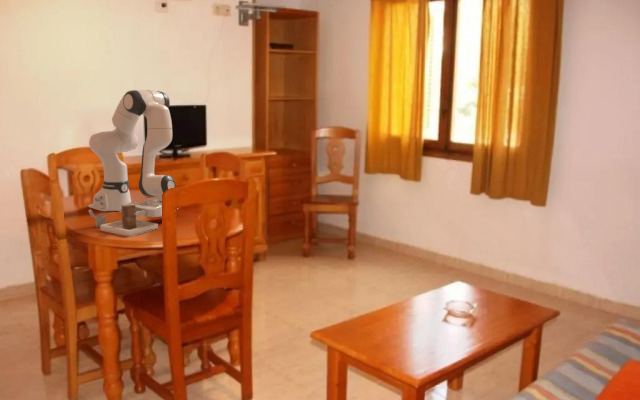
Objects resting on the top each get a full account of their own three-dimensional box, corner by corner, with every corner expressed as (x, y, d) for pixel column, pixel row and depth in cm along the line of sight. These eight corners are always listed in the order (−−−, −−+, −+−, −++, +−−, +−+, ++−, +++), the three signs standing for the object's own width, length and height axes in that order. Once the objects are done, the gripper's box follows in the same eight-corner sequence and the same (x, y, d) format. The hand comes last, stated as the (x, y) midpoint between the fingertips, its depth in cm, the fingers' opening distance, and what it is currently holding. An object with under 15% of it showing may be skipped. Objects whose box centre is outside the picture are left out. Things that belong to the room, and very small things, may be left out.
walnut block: (122, 228, 260) (121, 205, 258) (129, 226, 263) (128, 204, 261) (129, 229, 258) (128, 206, 256) (136, 227, 261) (135, 205, 259)
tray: (100, 230, 259) (100, 225, 258) (129, 223, 272) (129, 218, 272) (129, 236, 250) (129, 231, 249) (158, 229, 263) (157, 223, 263)
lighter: (105, 225, 268) (104, 207, 266) (106, 225, 267) (105, 208, 265) (88, 226, 264) (87, 209, 263) (89, 227, 263) (88, 210, 261)
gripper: (135, 197, 275) (111, 202, 263) (167, 203, 265) (143, 208, 253) (135, 210, 276) (111, 216, 265) (168, 216, 266) (144, 222, 254)
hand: (127, 212), depth 259 cm, fingers open, 8 cm apart
